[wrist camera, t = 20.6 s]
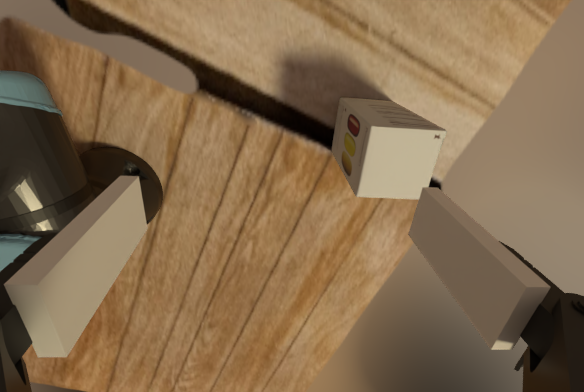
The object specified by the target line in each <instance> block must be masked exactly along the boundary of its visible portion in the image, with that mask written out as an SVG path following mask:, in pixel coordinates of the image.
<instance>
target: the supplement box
mask: <svg viewBox="0 0 584 392" xmlns="http://www.w3.org/2000/svg"><path fill="white" fill-rule="evenodd" d="M446 133H447V131H446V130H445V129H443V128H441V127H439V126H437V125H435V124H434V123H432V122H430V121H428V120H426V119H424V118H423V117H421V116H419V115H417V114H415V113H413V112H412V111H410V110H408V109H406V108H404V107H402V106H400V105H399V104H397V103H395V102H393V101H384V100H373V99H360V98H345V97H341V98H340V100H339V106H338V112H337V118H336V125H335V131H334V137H333V143H332V150H331V151H332V153H333V155H334V157H335V159H336V160H337V162H338V164H339V166H340V168H341V170H342V172H343V173H344V175H345V177H346V179H347V181H348V182H349V184H350V186H351V188H352V190H353V192H354V194H355V195H356V197H370V198H395V199H419V198H420V195H421V191H422V188H423V187H428V186H429V183H430V179H431V176H432V173H433V170H434V167H435V164H436V161H437V158H438V155H439V152H440V149H441V147H442V144H443V141H444V138H445V136H446Z"/></svg>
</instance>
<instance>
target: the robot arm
mask: <svg viewBox="0 0 584 392" xmlns="http://www.w3.org/2000/svg"><path fill="white" fill-rule="evenodd" d="M61 116H63V114H62V112H61V110H59V109H58V108H57V106H56V104H55V102H54V100H53V98H52V96H51V94H50V92H49V90H48V88H47V87H46V85H45V84H44V83H43V81H42V80H40V79H39V78H38V77H36V76H34V75H32V74H29V73H26V72H20V71H1V70H0V392H32V391H31V387H30V382H29V377H28V373H27V369H26V364H25V362H24V360H23V358H22V356H23V354H24V353H25V352H26V350H27V349H28V348H29V347H30V345H31V344H32V345H33V347H34V350H35V352H36V354H37V356H38V357H67V356H68V354H69V353H70V351H71V350H72V348H73V346H74V345H75V343H76V342H77V340H78V338H79V337H80V335H81V334H82V332H83V330H84V329H85V327H86V326H87V324H88V323H89V321H90V319H91V318H92V316H93V315H94V313H95V311H96V310H97V308H98V307H99V305H100V303H101V302H102V300H103V299H104V297H105V296H106V294H107V292H108V291H109V289H110V288H111V286H112V284H113V283H114V281H115V280H116V278H117V277H118V275H119V273H120V272H121V270H122V269H123V267H124V265H125V264H126V262H127V261H128V259H129V257H130V256H131V254H132V253H133V251H134V250H135V248H136V246H137V245H138V243H139V242H140V240H141V238H142V237H143V235H144V234H145V232H146V230H147V229H148V228H147V224H148V223H149V222H151V220H152V219H153V218H154V217H155V215H156V214H157V212H158V211H159V209H160V207H161V204H162V200H163V191H162V186H161V183H160V180H159V178H158V176H157V175H156V173H155V172H154V170H153V169H152V168H151V167H150V166H149V165H148V164H147V163H146V162H145V161H143V160H142V159H141V158H139V157H138V156H136V155H134V154H132V153H130V152H128V151H125V150H122V149H118V148H111V147H101V148H95V149H91V150H88V151H86V152H84V153H83V154H81V155H80V156H79V155H78V153H77V150H76V148H75V146H74V144H73V141H72V139H71V137H70V135H69V132H68V130H67V128H66V126H65V123H64V121H63V119H62V117H61ZM408 235H409V236H410V238H411V239H412V240H413V242H414V243H415V245H416V246H417V247H418V249H419V250H420V251H421V253H422V254H423V256H424V257H425V258H426V260H427V261H428V262H429V264H430V265H431V267H432V268H433V269H434V271H435V272H436V274H437V275H438V276H439V278H440V279H441V281H442V282H443V284H444V285H445V286H446V288H447V289H448V290H449V292H450V293H451V295H452V296H453V297H454V299H455V300H456V302H457V303H458V304H459V306H460V307H461V308H462V310H463V311H464V313H465V314H466V315H467V317H468V318H469V320H470V321H471V322H472V324H473V325H474V326H475V328H476V329H477V331H478V332H479V334H480V335H481V336H482V338H483V339H484V340H485V342H486V343H487V345H488V346H489V347H490V349H491V350H499V349H500V350H505V349H513V348H514V346H515V344H516V343H517V341H518V340H519V338H520V336H521V337H522V339H523V340H524V341H525V342H526V343H527V344H528V347H527V349H526V351H525V352H524V353H523V355H522V357H521V358H520V360H519V361H518V363H517V364H516V366H515V370H517V371H519V369H520V367H523V392H584V296H581V295H578V294H573V293H564V292H563V291H562V290H560V289H559V288H558V287H557V286H556V285H555V284H553V283H552V282H551V281H550V280H549V279H548V278H546V277H545V276H544V275H543V274H542V273H541V272H539V271H538V270H537V269H536V268H533V266H532V265H531V264H530V263H529V262H528V261H526V260H524V258H523V257H522V256H521V255H520V254H518V253H517V252H516V251H515V250H514V249H512V248H510V247H509V246H507V245H505V244H503V243H502V242H500V241H497V240H496V239H495V238H494V237H493V236H492V235H491V234H490V233H489V232H487V231H486V230H485V229H484V228H483V227H482V226H481V225H479V224H478V223H477V222H476V221H475V220H474V219H473V218H471V217H470V216H469V215H468V214H467V213H466V212H465V211H463V210H462V209H461V208H460V207H459V206H458V205H457V204H456V203H454V202H453V201H452V200H451V199H450V198H449V197H448V196H446V195H445V194H444V193H443V192H442V191H441V190H440V189H438V188H428V187H423V188H422V191H421V195H420V198H419V201H418V204H417V208H416V211H415V214H414V218H413V221H412V224H411V228H410V231H409V234H408Z"/></svg>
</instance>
